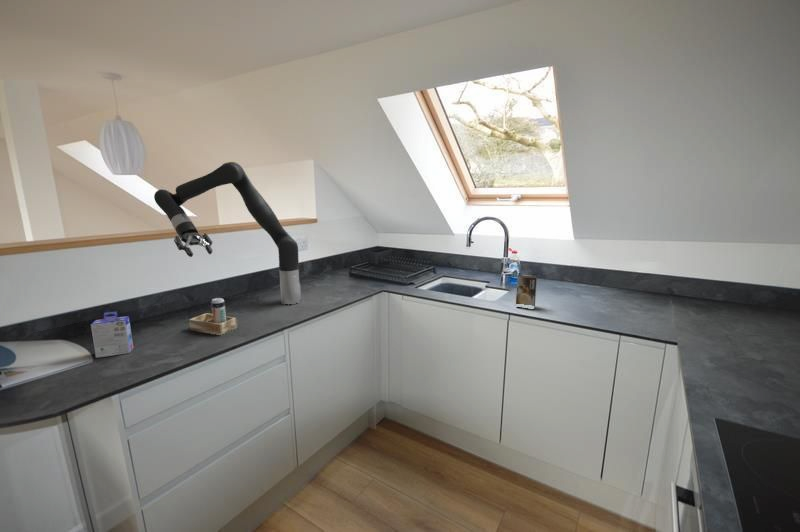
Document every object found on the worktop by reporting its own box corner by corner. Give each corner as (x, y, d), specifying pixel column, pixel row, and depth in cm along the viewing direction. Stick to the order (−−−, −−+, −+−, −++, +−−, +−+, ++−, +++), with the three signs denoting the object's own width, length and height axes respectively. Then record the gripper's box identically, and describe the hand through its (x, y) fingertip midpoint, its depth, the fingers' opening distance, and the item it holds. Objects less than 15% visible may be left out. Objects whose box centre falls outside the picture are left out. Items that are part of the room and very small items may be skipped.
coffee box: (535, 306, 184) (537, 275, 181) (534, 310, 178) (537, 278, 175) (516, 304, 188) (518, 273, 184) (514, 308, 182) (517, 276, 179)
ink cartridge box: (134, 347, 133) (128, 309, 130) (130, 353, 128) (125, 313, 125) (100, 352, 129) (93, 312, 126) (95, 358, 124) (88, 317, 121)
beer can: (216, 325, 152) (213, 297, 149) (228, 325, 152) (225, 297, 150) (212, 329, 147) (208, 301, 144) (224, 329, 147) (221, 300, 145)
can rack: (207, 323, 158) (206, 313, 157) (237, 328, 152) (236, 317, 151) (189, 330, 150) (188, 319, 149) (220, 335, 144) (219, 324, 143)
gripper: (169, 221, 155) (188, 251, 152) (202, 219, 167) (220, 246, 164) (164, 233, 159) (182, 262, 155) (197, 230, 171) (214, 257, 167)
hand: (201, 254), depth 160 cm, fingers open, 8 cm apart
